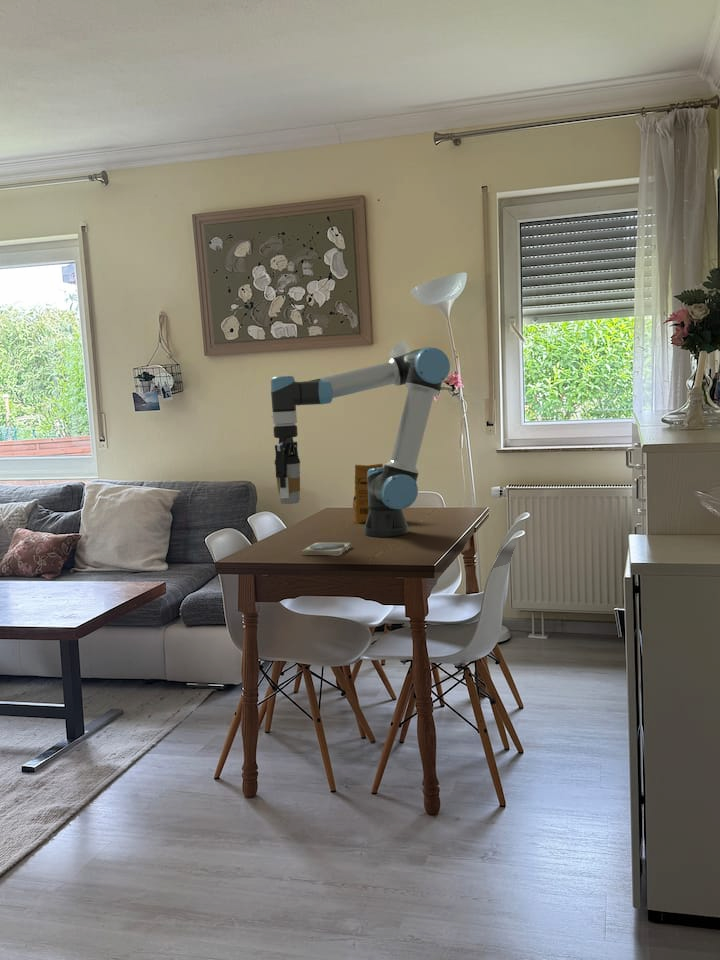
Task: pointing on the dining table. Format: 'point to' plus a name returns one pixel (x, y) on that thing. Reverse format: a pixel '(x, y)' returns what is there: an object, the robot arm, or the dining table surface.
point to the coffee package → (362, 492)
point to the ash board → (326, 549)
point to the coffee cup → (291, 480)
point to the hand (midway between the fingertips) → (289, 496)
